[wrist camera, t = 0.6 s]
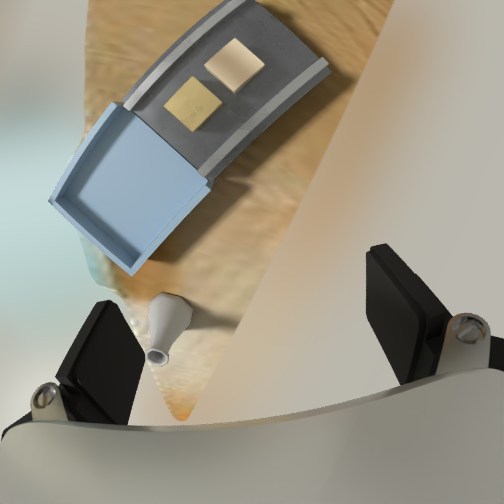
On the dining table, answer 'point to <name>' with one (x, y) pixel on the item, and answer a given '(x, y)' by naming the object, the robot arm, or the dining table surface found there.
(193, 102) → the olive yellow block
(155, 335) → the flask
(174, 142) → the slot block
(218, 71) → the beige square block
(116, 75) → the dining table surface
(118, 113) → the tray
